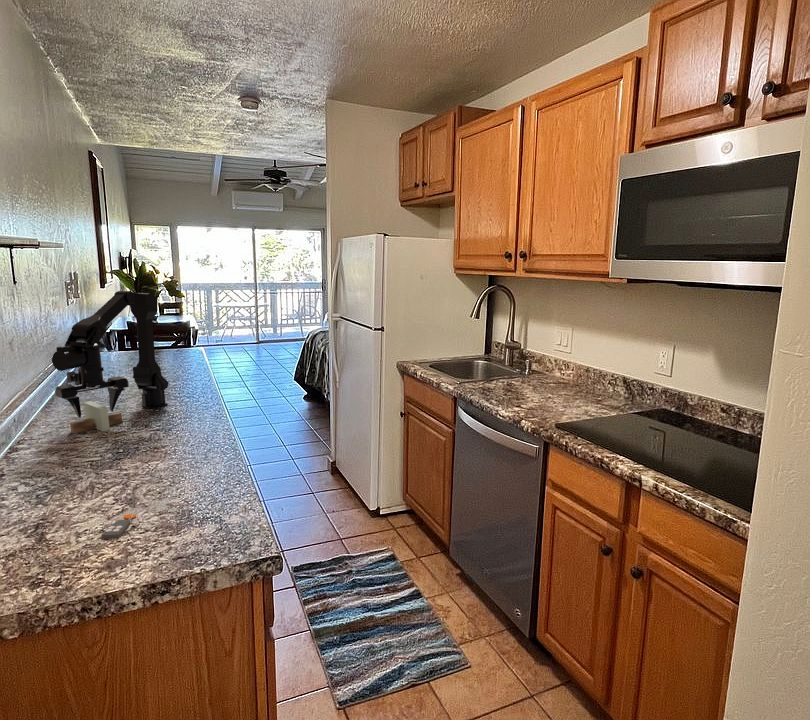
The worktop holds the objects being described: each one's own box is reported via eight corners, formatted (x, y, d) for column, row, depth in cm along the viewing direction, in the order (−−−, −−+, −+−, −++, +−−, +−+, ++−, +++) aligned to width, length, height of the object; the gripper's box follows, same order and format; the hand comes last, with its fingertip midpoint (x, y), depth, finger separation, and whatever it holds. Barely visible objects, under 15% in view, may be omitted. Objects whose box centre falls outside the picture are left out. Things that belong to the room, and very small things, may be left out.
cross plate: (85, 423, 164) (83, 402, 162) (92, 422, 165) (90, 401, 164) (102, 431, 156) (100, 409, 155) (109, 429, 158) (107, 407, 157)
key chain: (120, 540, 97) (120, 533, 96) (100, 541, 96) (99, 533, 96) (149, 507, 109) (148, 501, 109) (131, 508, 109) (130, 501, 109)
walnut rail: (119, 421, 167) (118, 412, 166) (122, 422, 165) (121, 413, 165) (71, 432, 156) (69, 422, 155) (73, 433, 155) (72, 423, 154)
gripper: (111, 357, 169) (115, 403, 172) (45, 365, 154) (51, 416, 157) (127, 361, 162) (131, 409, 165) (59, 370, 148) (66, 423, 151)
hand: (96, 414), depth 160 cm, fingers open, 9 cm apart
